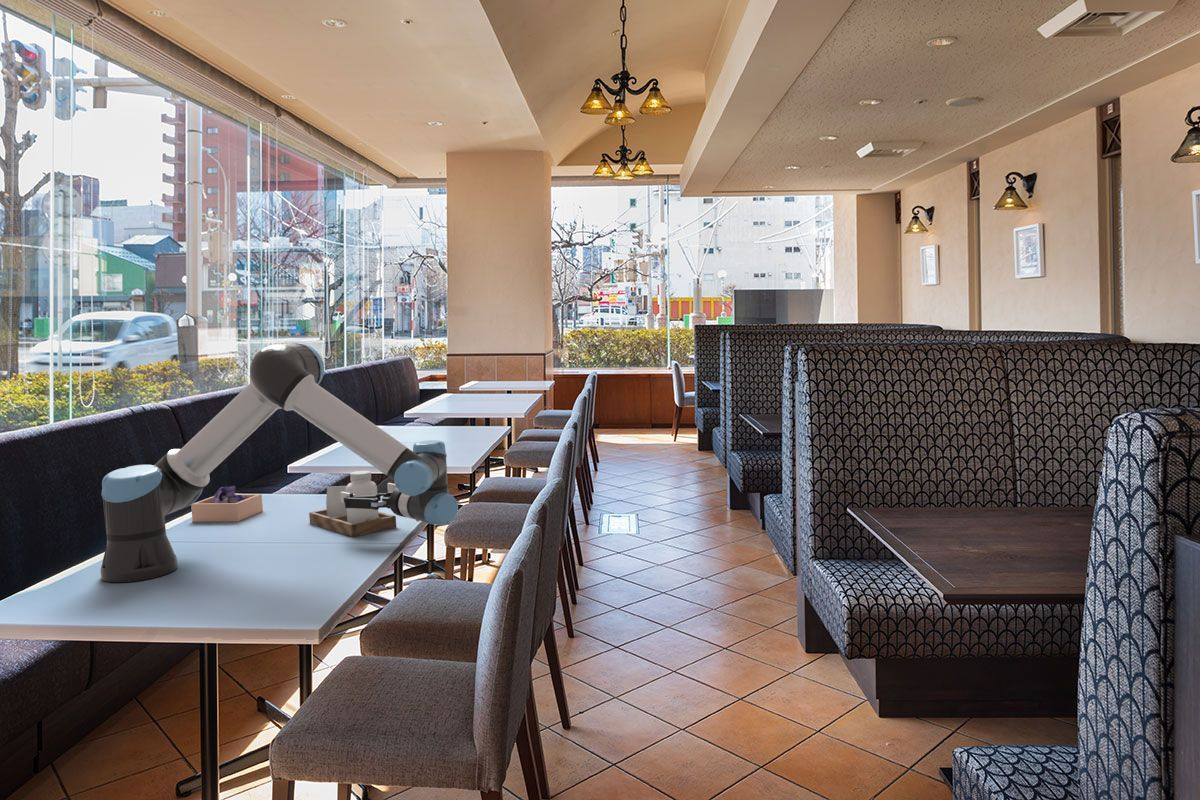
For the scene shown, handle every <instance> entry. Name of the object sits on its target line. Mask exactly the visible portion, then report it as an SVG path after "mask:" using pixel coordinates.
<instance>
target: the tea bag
mask: <svg viewBox="0 0 1200 800" xmlns="http://www.w3.org/2000/svg"><path fill="white" fill-rule="evenodd" d="M346 486H347V485H339V486H336V485H335V486H327V487H326V501H325V505H326V507H325V508H326V509H327V516H328V517H332V518H334V517H339V516H344V515H347V508H345V503H341V496H340V492H346Z"/></svg>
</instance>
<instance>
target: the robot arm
mask: <svg viewBox="0 0 1200 800" xmlns="http://www.w3.org/2000/svg"><path fill="white" fill-rule="evenodd" d="M324 373H325V366H324V361H323V358H322V357H321V355H320V354H319V352H318V351H317V350H316V349H315V348H313V347H312V346H310V345H308V344H306V343H305V344H304V343H302V342H301V343H300V342H291V343H283V344H271V345H269V346H265V347H263V348H262V349H260V350H259V351H258V352H256V353H255V355H254V356H253V358H252V360H251V362H250V366H249V384H247V385H246V386H245V387H244V389H242V390H241V391H240V392H239V393H238V394H237V395H236V396H235V397H234V398H233V399H232V400H231V401H229V403H227V405H225V406H224V407H223V409H221V410H220V411H219V412H218V413H217V414H216V415H215V416H214V417H212V419H211V420H209V422H208V423H207V424H205V426H203V427H202V429H200V430H199V431H198V432H197V433H196V434H195V435H194V436H193V437H192V438H190V440H189V441H188V442H187V443H186V444H184V445H183V447H181V448H173V449H172V448H171V449H170V450H169V451H168V452H167V453H166V454H164V455H163V456H162V457H161V458H160V459H159V460H158V461H157V462H156V463H155V464H153V465H152V464H136V465H129V466H126V467H124V468H122V467H121V468H118V469H115V470H112V471H111V472H108V473H107V474H105V476H104V477H103V478H102V481H101V488H102V489H101V497H102V502H103V503H102V504H103V512H104V524H105V531H106V532H105V533H106V547H105V551H104V555H103V558H102V564H101V567H100V578H101V581H104V582H107V583H108V582H109V583H131V582H139V581H145V580H149V579H155V578H158V577H162V576H165V575H168V574H170V573H172V572H174V571H176V570H177V569H178V567H179V566H178V557H177V555H176V554H175V552H174V549H173V546H172V544H171V542H170V540H169V538H168V536H167V530H166V519H165V517H166V516H168V515H170V514H172V513H175V512H178V511H181V510H184V509H185V508H188V507H190V506H191V504H193V503H196V502H197V500H198V499H199V497H200V496H201V495H202V493H203V490H204V488H205V487H207V485H208V484H209V483H210V481H211V480H210V479H211V478H210V477H211V476H210V473H212V472H213V471H214V469H215V470H216V468H217V467H218V466H219V465H220V464H221V463H222V462H223V461H224V460H226V458H228V457H229V456H230V455H231V454H232V453H233V452H234V451H235V450H236V449H237V448H238V447H239V446H240V445H241V444H243V442H245V441H246V439H247V438H249V437H250V436H251V435H252V434H253V433H254V432H255V431H256V430H257V429H258V428H259V427H260V426H262V425H263V424H264V423H265V422H266V421H267V420H268V419H269V418H270V417H271V416H272V415H273V414H274V413H276V411H277V410H281V409H282V410H284V411H286V412H289V411H290V412H291V411H294V412H295V413H296V414H298V415H299V416H301V417H302V418H304V419H305V420H306V421H308V422H309V423H311V424H312V425H314V426H315V427H317V428H318V429H320V430H321V431H322V432H324V433H325V434H327V436H330V438H332V439H333V440H335V441H337V442H338V443H339V444H340V445H342V446H344V447H345V448H347V449H348V450H350V451H351V452H352V453H353V454H355V455H357V456H359V457H360V458H361V459H363V460H364V461H365V462H367V463H368V464H369V465H371V466H373V467H374V468H375V469H377V470H378V471H380V472H381V473H383V475H385V476H387V477H388V478H389V479H391V480H392V481H394V483H392V482H388V483H387V492H379V493H378V492H377V495H367V496H356V494H353V493H347V492H340V496H341V503H345V508H358V509H373V510H378V511H379V509H381V508H385V509H386V508H387V509H390V510H391V512H392V513H393V514H394V515H395V516H398V517H403V518H409V519H412V520H415V521H416V522H424V523H427V524H429V525H435V526H447V525H448V524H451V522H453V521H454V520H455V518H456V517H457V514H458V510H459V505H458V501H457V500H456V498H455V497H454V496H453V495H451V494H450V493H449V485H448V469H447V468H448V467H447V465H448V464H447V452H446V444H445V442H443V441H442V440H433V439H432V440H424V441H423V440H422V441H418V442H415V443H414V444H413V445H412V450H411V449H410V448H408V446H406V445H405V444H403V443H402V442H400V441H399V440H397V439H396V438H394V436H392V435H390V434H389V433H387V432H386V431H385V430H383V429H382V428H380V427H379V426H377V425H376V424H375V423H373V422H372V421H370V420H369V419H367V418H366V417H365V416H364V415H362V414H361V413H359V412H357V410H354V409H353V408H352V407H351V406H350V405H347V404H346V403H345V402H343V401H342V399H341V400H340V399H339V398H338V397H336V396H335V395H333V394H332V393H331V392H329V391H328V390H326V389H325V388H323V387H322V386H320V383H321V382H322V380H323V377H324ZM381 497H382V498H381Z"/></svg>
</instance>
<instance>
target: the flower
mask: <svg viewBox="0 0 1200 800" xmlns="http://www.w3.org/2000/svg"><path fill="white" fill-rule="evenodd" d="M213 496H214V501H215V503H237V502H240V501H242V500H245V498H244V497H245V496H244V495H240V493H239V494H237V493H236V486H235V485H230V486H227V485H226V486H221V487H220V488H219V489H218V490H217V491H216V492H215V494H214V495H213Z"/></svg>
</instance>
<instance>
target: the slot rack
mask: <svg viewBox="0 0 1200 800" xmlns="http://www.w3.org/2000/svg"><path fill="white" fill-rule="evenodd" d="M378 516H379V517H377V518H376V519H375V520H370V519H367V520H366V522H361V523H356V524H352V523H349V522H348V521H347V515H344V516H339V517H334V518H332V517H328V516H327V508H326V509H325V508H324V509H321V510H315V511H311V512H308V517H309V524H311V525H313V526H317V527H321V528H323V529H327V530H330V531H333V532H336V533H339V534H342V535H346V536H349V537H352V538H354V537H358V536H362V535H363V536H364V535H367V534H368V535H369V534H372V533H373V534H374V533H377V532H381V531H385V530H386V531H387V530H390V529H394V528H397V517H396V516H397V515H395V514H394V515H393V514H390V513H385V512H382V511H378Z"/></svg>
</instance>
